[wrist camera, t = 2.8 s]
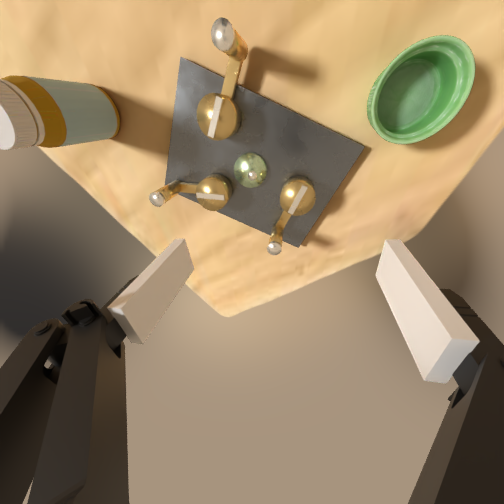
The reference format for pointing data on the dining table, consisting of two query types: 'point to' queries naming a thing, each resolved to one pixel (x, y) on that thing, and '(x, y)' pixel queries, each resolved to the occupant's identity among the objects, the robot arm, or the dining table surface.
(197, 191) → the knob
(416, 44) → the ramekin
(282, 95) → the dining table surface
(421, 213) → the dining table surface
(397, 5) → the dining table surface
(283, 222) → the knob
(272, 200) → the control panel
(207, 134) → the knob
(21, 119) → the bottle
